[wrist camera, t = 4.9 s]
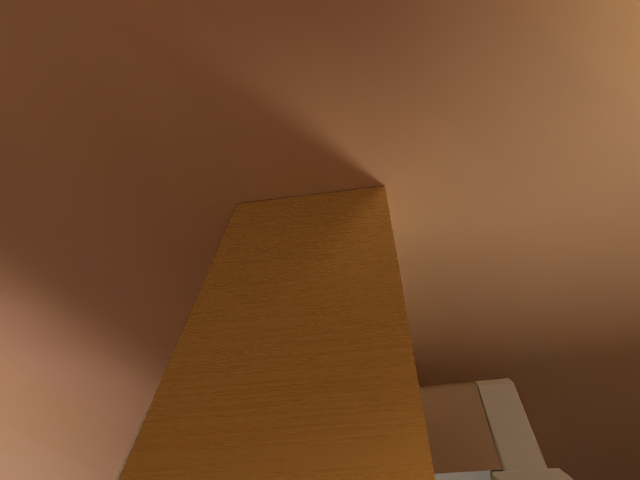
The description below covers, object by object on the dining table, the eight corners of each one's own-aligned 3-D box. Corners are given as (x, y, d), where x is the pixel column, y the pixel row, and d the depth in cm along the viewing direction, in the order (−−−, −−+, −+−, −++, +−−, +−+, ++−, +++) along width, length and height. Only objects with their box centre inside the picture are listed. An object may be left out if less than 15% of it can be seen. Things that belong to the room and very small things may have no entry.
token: (236, 204, 9) (91, 540, 4) (384, 186, 9) (441, 519, 4) (296, 452, 12) (257, 848, 7) (410, 443, 12) (465, 850, 6)
